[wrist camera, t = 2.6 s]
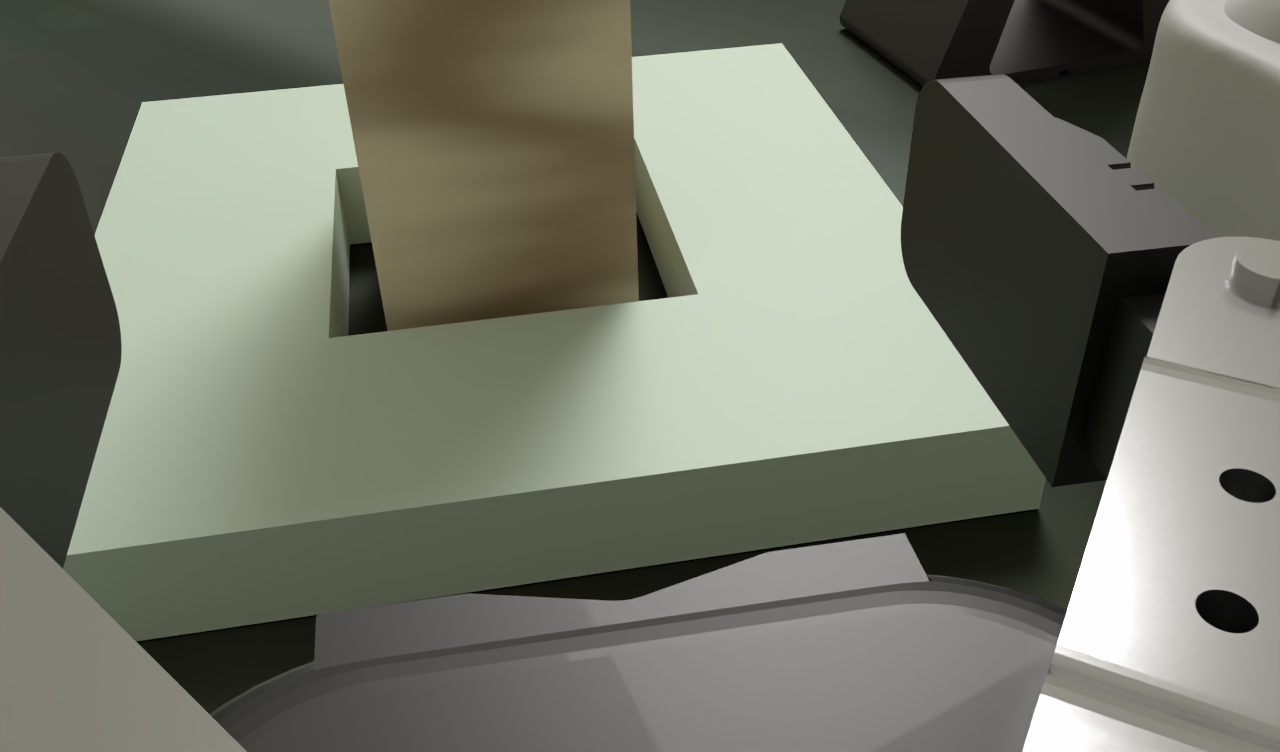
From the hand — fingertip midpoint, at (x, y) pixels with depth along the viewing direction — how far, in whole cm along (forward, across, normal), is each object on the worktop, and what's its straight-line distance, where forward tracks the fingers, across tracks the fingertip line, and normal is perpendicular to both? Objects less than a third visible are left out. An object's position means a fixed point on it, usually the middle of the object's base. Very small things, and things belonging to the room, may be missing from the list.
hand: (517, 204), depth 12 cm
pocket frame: (+12, 0, +9) cm, 15 cm away
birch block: (+12, 0, +9) cm, 15 cm away
